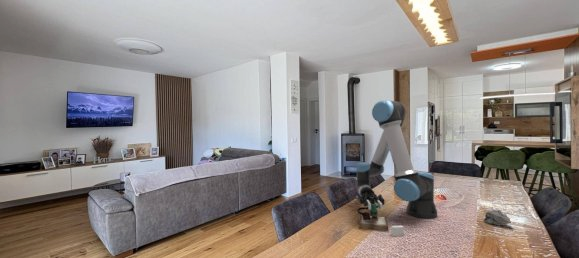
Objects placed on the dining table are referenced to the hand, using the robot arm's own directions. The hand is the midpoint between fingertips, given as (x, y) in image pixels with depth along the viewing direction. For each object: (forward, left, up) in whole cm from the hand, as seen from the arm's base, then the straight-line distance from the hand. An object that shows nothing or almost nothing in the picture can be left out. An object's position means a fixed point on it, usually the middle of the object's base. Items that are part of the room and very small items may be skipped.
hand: (375, 206), depth 119 cm
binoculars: (+3, -4, -7) cm, 9 cm away
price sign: (-9, +4, -11) cm, 15 cm away
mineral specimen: (-57, -21, -11) cm, 62 cm away
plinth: (+1, -5, -11) cm, 12 cm away
